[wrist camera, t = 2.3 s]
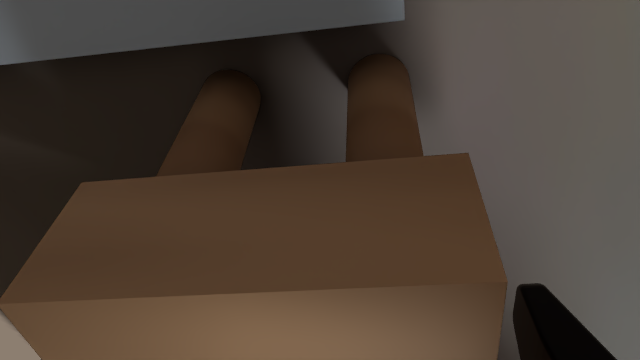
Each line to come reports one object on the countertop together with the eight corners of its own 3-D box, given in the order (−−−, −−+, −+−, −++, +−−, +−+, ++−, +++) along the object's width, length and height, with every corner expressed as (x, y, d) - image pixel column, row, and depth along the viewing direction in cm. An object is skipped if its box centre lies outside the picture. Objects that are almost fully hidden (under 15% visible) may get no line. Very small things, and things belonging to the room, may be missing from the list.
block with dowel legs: (430, 306, 14) (468, 569, 9) (256, 312, 15) (208, 562, 10) (429, 27, 9) (506, 281, 4) (170, 56, 10) (-5, 304, 5)
